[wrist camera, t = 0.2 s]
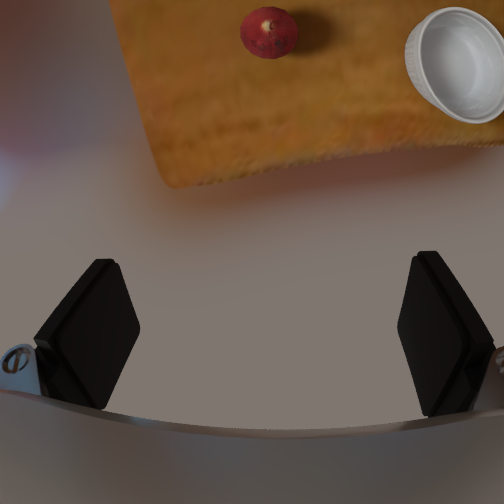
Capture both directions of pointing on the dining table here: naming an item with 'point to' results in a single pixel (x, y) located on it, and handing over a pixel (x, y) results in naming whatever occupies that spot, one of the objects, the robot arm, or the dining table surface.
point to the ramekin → (458, 64)
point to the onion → (269, 32)
